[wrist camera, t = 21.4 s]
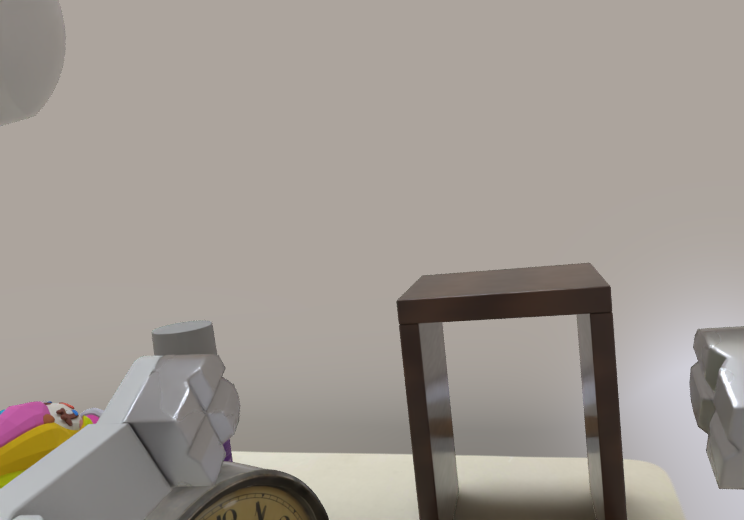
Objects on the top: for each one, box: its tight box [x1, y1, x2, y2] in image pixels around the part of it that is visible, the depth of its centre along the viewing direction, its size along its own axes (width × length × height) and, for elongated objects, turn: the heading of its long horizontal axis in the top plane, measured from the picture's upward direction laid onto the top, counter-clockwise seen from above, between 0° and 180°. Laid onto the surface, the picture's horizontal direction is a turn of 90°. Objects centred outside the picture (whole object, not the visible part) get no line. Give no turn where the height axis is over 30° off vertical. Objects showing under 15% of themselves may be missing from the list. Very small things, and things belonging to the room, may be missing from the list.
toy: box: [0, 401, 104, 489], centre depth 52 cm, size 10×9×15 cm
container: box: [152, 321, 233, 462], centre depth 48 cm, size 5×5×15 cm
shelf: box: [397, 263, 627, 520], centre depth 41 cm, size 12×10×17 cm
